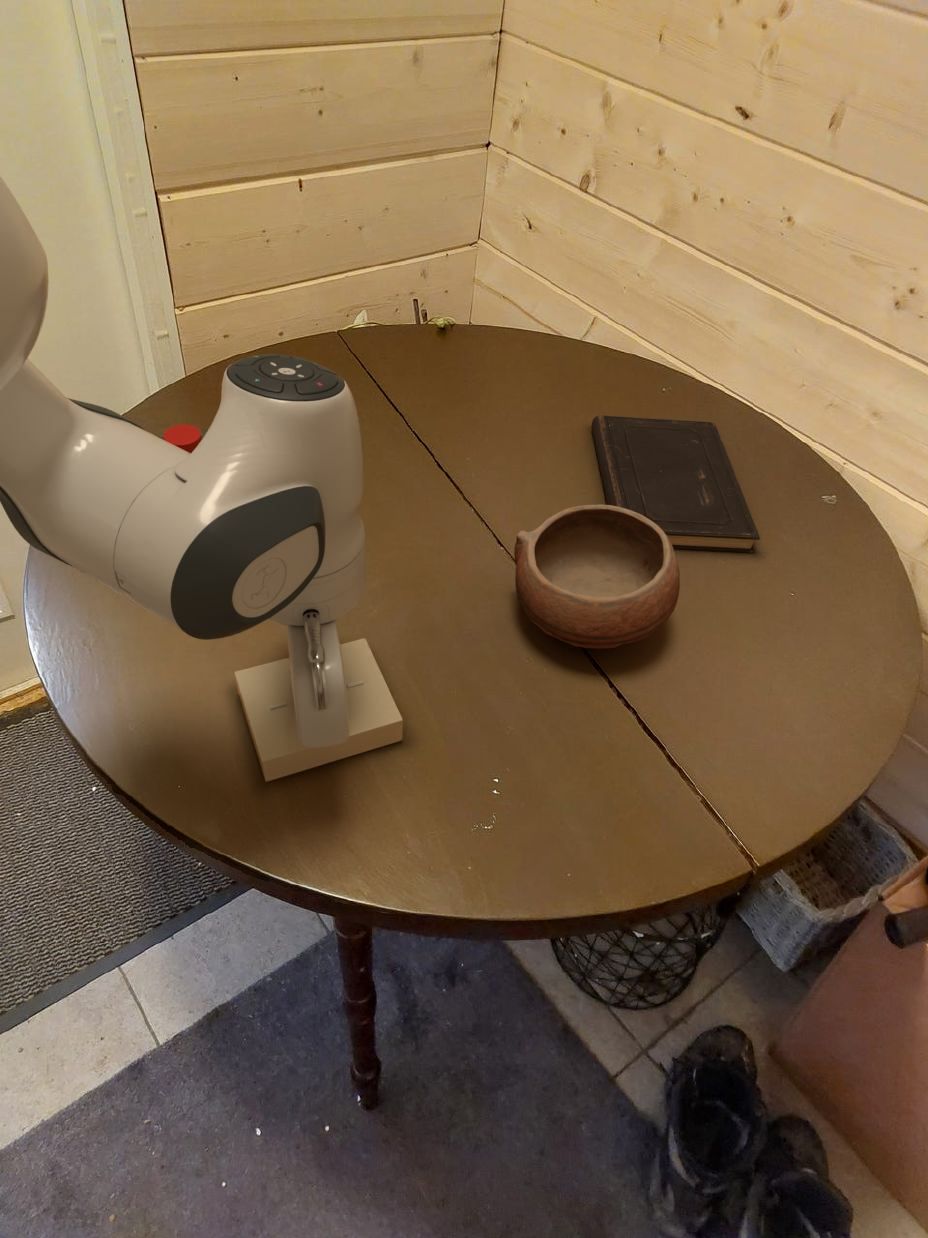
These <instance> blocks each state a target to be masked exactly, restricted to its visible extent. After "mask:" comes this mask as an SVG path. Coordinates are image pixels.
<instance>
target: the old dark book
mask: <svg viewBox="0 0 928 1238" xmlns="http://www.w3.org/2000/svg"><path fill="white" fill-rule="evenodd" d="M591 432H592V436H593V441H594V446H595V451H596V456H597V461H598V467H599V471H600V476H601V481H602V486H603V490H604V496H605V500H606V505H612V506H617V507H621V508H625V509H628V510H631V511H634V512H636V513H639V514H641V515H643V516H644V517H646V518H648V519H649V520H651V521H653V522H654V523H655V524H656V525H658V526H659V527H660V528H661V529H662V530H663V531H664V533H665V534H666V535H667V537H668V538H669V540H670V542H671V544H672V547H673V549H674V550H690V551H691V550H692V551H708V552H709V551H711V552H730V553H748V554H749V553H751V554H753V553H755V549H754V546H753V545H754V542H755V541H760V540H761V537H760V534H759V531H758V529H757V526H756V524H755V521H754V519H753V516H752V514H751V512H750V508H749V506H748V503H747V500H746V498H745V496H744V494H743V491H742V489H741V485H740V483H739V480H738V477H737V475H736V473H735V471H734V468H733V465H732V463H731V460H730V457H729V455H728V452H727V450H726V447H725V445H724V442H723V439H722V437H721V434H720V431H719V429H718V427H717V424H716V422H715V421H697V420H683V419H682V420H681V419H665V418H647V417H630V416H613V415H596V416H594V418H593V419H592V422H591Z"/></svg>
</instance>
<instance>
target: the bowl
mask: <svg viewBox="0 0 928 1238" xmlns="http://www.w3.org/2000/svg"><path fill="white" fill-rule="evenodd" d="M513 555H514V556H513V557H514V564H515V582H514V583H515V591H516V595H517V599H518V600H519V602H520V605H521V606H520V607H521V608H522V609H523V610H524V612H525V613H526V615H527V616H528V618H529V619H530V621H531V622H532V623H533V624H535V625H536V626H537V627H539V629H540V630H542V632H544V633H545V634H546V635H549V636H551V637H553V638H556V639H557V640H559V641H561V642H564V643H567V644H569V645H571V646H574V647H579V648H585V649H611V648H617V647H619V646H621V645H624V644H625V645H626V644H631V643H634V642H638V641H640V640H643V639H645V638H647V637H648V636H650V635H652V634H653V633H655V631H656V630H658V629H659V628H660V627H662V625H663V624H664V623H665V622H667V621H668V620H669V618H670V616H671V615H672V614H673V613H674V612H675V608H676V606H677V604H678V600H679V596H680V590H681V589H680V588H681V583H680V582H681V579H680V578H681V577H680V576H681V575H680V574H681V572H680V567H679V562H678V559H677V556H676V551H675V549H673V547H672V544H671V542H670V540H669V538H668V537H667V535H666V534H665V533H664V531H663V530H662V529H661V528H660V527H659V526H658V525H656V524H655V523H654V522H653V521H651V520H649V519H648V518H646V517H644V516H643V515H641V514H639V513H636V512H634V511H631V510H628V509H625V508H621V507H617V506H612V505H607V504H585V505H578V506H573V507H569V508H564V509H563V510H561V511H559V512H556V513H555V514H553V515H552V516H551V515H550V517H548V518H546V519H544V520H543V521H542V522H541V523H540V524H539V525H538V526H537V527H536V528H535V529H534V530H532V531H525V530H520V531H518V533H517V535H516V542H515V543H514V554H513Z"/></svg>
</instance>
